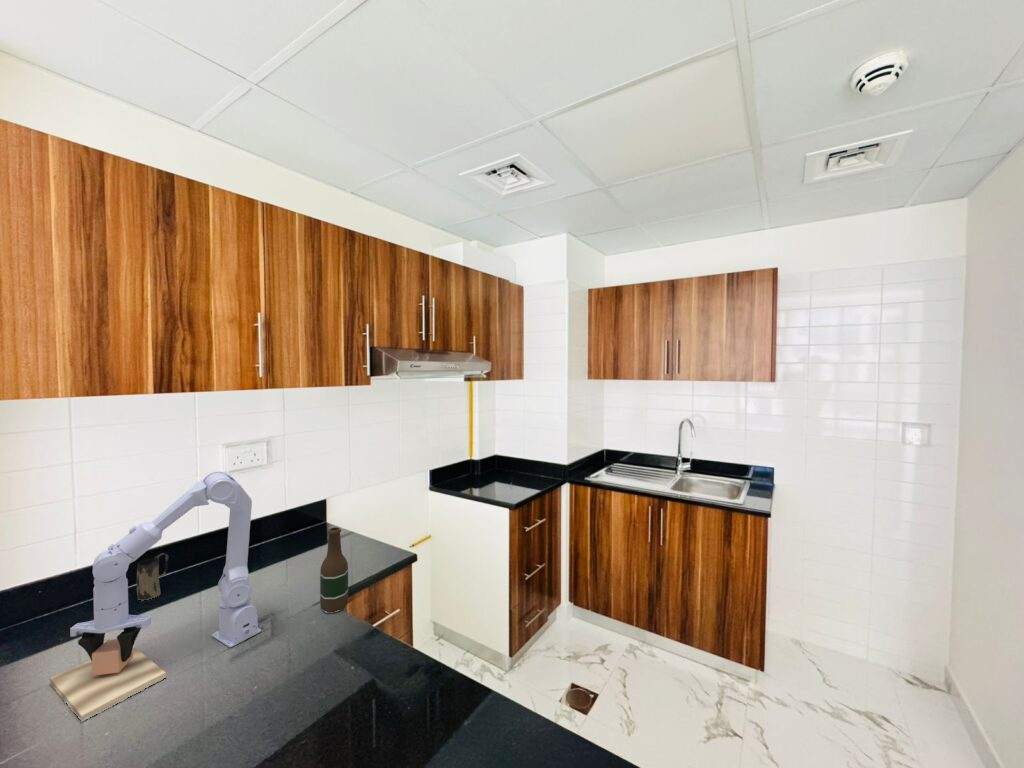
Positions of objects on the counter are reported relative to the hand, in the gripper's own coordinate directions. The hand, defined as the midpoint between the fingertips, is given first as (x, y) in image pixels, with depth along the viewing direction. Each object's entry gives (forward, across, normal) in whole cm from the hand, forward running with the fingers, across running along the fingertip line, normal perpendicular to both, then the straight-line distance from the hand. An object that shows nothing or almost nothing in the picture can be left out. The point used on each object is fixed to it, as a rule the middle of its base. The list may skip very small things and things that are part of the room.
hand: (112, 660), depth 97 cm
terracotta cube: (+2, 0, 0) cm, 2 cm away
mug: (+4, +12, -38) cm, 41 cm away
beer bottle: (+4, -45, -20) cm, 49 cm away
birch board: (+4, 0, +1) cm, 4 cm away
